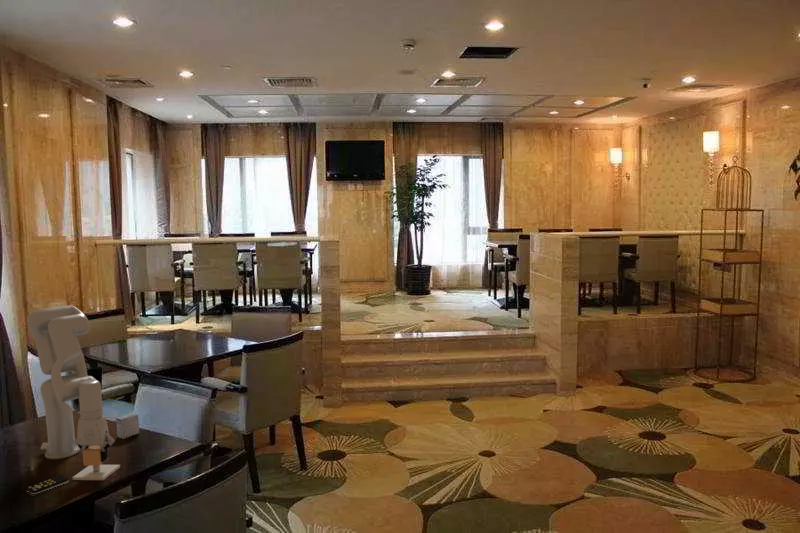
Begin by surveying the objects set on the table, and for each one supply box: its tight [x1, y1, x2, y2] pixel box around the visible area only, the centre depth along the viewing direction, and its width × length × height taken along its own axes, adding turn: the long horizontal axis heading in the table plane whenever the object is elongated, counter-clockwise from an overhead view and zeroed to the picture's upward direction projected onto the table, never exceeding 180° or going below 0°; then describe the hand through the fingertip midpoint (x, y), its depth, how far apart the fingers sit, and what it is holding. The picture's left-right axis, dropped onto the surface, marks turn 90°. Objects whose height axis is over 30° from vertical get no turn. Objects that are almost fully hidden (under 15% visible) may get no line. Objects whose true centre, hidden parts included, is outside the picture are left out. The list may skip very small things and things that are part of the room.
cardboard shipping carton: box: [81, 446, 109, 467], centre depth 230 cm, size 6×6×6 cm
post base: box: [72, 464, 121, 481], centre depth 230 cm, size 12×11×5 cm
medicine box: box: [115, 412, 140, 440], centre depth 269 cm, size 8×4×9 cm, turn 144°
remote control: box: [26, 475, 70, 495], centre depth 221 cm, size 6×13×2 cm, turn 145°
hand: (96, 460), depth 230 cm, fingers closed on cardboard shipping carton, 5 cm apart
